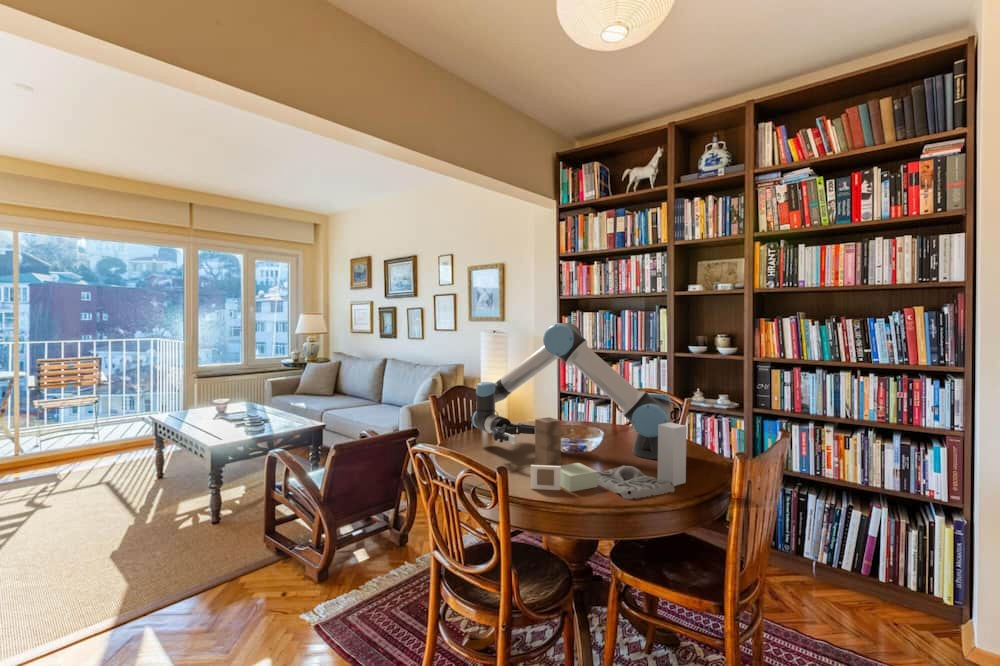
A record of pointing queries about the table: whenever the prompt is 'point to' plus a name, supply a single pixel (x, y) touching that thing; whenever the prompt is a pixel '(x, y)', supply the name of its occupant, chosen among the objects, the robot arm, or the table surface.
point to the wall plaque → (633, 483)
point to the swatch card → (545, 477)
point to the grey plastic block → (672, 453)
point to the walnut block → (548, 442)
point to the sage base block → (578, 477)
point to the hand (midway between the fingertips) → (531, 437)
